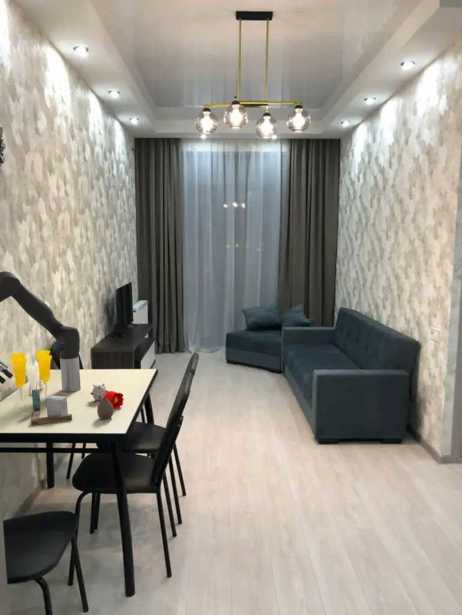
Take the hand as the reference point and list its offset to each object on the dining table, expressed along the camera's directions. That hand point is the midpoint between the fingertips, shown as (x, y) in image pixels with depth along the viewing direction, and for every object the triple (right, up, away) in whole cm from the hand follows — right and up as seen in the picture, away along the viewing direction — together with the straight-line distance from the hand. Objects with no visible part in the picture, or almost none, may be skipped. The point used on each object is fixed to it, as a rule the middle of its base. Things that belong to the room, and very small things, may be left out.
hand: (8, 379), depth 225 cm
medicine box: (+23, -16, -3) cm, 28 cm away
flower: (+45, -14, +8) cm, 48 cm away
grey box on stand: (+21, -15, -2) cm, 26 cm away
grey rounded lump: (+45, -16, -7) cm, 49 cm away
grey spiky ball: (+37, -13, +18) cm, 43 cm away
